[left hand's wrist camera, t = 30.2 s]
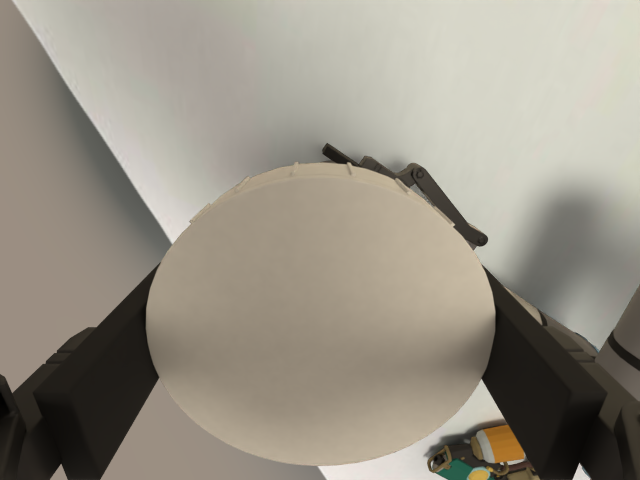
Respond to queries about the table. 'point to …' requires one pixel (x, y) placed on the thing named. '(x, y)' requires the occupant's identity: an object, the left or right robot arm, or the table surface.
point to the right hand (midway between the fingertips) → (293, 196)
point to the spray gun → (483, 458)
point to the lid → (320, 316)
